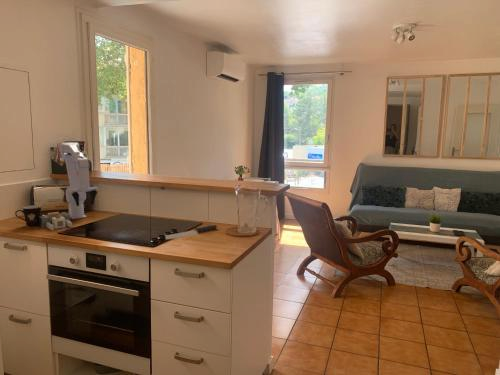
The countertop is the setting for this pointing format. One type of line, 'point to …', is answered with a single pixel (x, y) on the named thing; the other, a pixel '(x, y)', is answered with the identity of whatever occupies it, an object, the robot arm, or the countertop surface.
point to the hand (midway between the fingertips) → (85, 205)
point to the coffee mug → (31, 215)
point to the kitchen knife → (192, 232)
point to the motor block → (48, 218)
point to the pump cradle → (53, 226)
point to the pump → (58, 222)
